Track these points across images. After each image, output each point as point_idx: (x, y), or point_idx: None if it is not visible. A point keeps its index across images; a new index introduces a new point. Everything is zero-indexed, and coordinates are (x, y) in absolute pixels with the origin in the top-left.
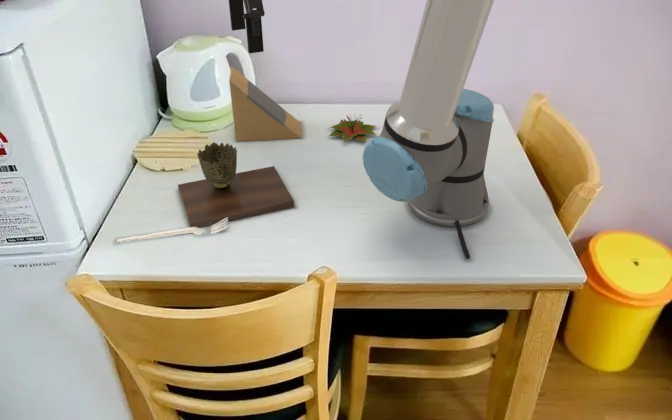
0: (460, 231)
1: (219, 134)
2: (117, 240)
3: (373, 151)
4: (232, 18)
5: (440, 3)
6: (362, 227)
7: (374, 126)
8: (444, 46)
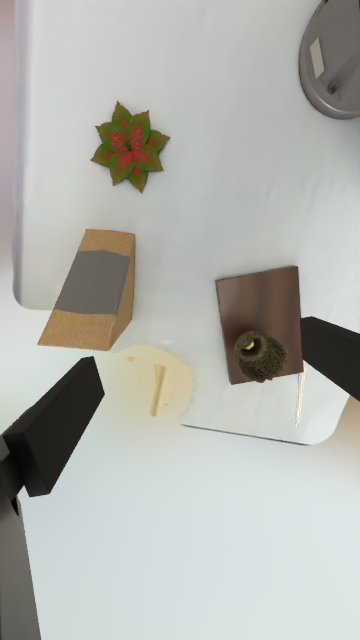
0: None
1: None
2: (297, 425)
3: None
4: (90, 414)
5: None
6: (354, 193)
7: (118, 105)
8: None
